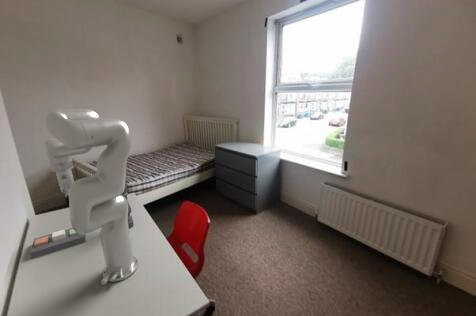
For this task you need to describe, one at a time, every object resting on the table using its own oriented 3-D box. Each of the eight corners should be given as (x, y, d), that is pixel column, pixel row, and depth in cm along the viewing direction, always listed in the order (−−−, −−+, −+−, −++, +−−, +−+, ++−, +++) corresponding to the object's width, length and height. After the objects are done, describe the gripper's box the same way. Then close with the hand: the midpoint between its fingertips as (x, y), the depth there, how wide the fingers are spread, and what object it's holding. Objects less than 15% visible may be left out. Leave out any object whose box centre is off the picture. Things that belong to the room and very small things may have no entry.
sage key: (82, 232, 108) (80, 226, 107) (82, 237, 104) (81, 231, 103) (71, 236, 105) (69, 229, 104) (71, 240, 102) (69, 234, 101)
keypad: (84, 229, 111) (83, 224, 110) (85, 241, 102) (84, 236, 101) (35, 244, 100) (34, 238, 100) (31, 258, 91) (30, 253, 90)
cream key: (66, 235, 104) (64, 229, 103) (65, 240, 100) (64, 233, 99) (54, 239, 101) (52, 232, 100) (53, 243, 98) (51, 237, 97)
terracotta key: (50, 242, 100) (48, 236, 99) (49, 247, 97) (47, 240, 96) (37, 246, 98) (35, 239, 97) (36, 251, 94) (34, 244, 94)
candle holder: (136, 225, 115) (129, 182, 109) (125, 231, 110) (118, 186, 103) (129, 222, 118) (122, 179, 112) (118, 227, 113) (110, 183, 106)
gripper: (72, 168, 91) (81, 207, 95) (72, 161, 102) (80, 196, 107) (49, 171, 86) (60, 212, 91) (52, 164, 98) (61, 200, 103)
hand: (71, 203), depth 99 cm, fingers closed
